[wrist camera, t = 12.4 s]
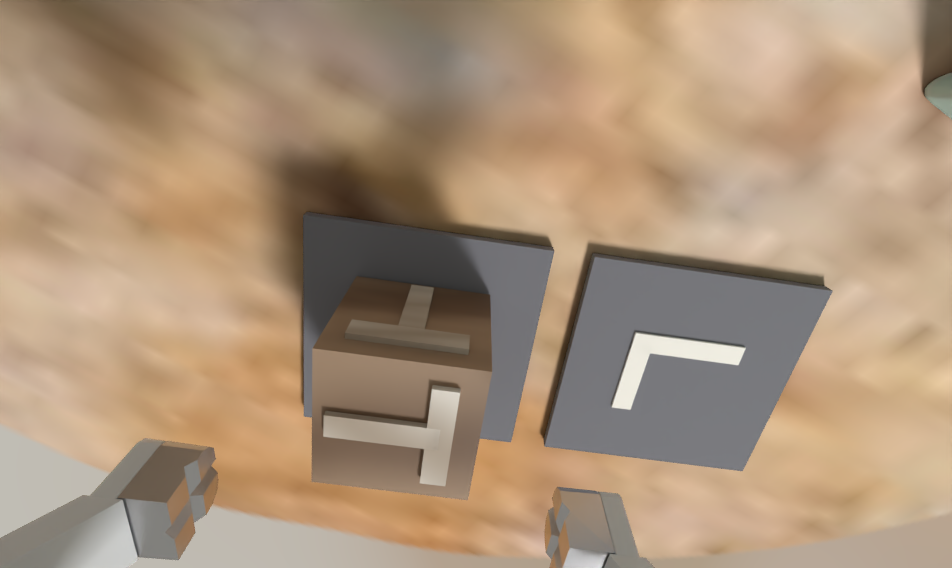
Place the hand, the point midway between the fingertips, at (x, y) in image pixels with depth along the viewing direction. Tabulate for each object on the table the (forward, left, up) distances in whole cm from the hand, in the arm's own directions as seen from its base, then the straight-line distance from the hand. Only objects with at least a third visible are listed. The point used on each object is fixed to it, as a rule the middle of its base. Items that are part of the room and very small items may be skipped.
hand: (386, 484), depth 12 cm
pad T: (+1, 0, -8) cm, 8 cm away
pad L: (+1, +10, -8) cm, 13 cm away
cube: (+1, 0, -8) cm, 8 cm away
